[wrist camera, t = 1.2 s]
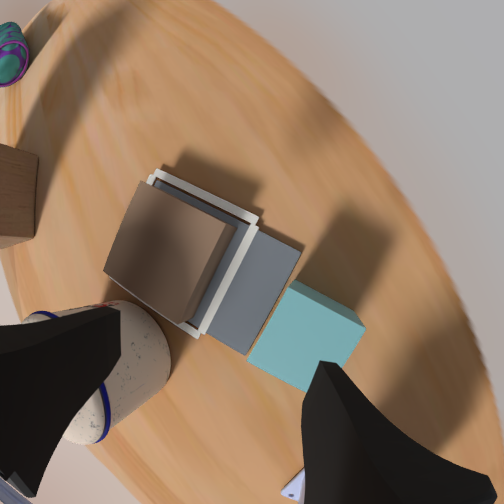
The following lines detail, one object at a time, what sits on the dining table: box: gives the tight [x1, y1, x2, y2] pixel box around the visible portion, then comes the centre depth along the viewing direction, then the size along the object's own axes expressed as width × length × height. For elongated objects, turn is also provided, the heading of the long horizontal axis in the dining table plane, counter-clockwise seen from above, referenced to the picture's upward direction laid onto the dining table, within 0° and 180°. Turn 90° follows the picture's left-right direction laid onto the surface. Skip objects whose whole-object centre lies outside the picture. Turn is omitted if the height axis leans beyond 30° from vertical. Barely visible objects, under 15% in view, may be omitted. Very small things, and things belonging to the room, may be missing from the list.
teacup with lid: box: [21, 300, 171, 445], centre depth 16 cm, size 12×9×12 cm
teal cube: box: [247, 280, 366, 393], centre depth 16 cm, size 4×4×5 cm
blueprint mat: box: [109, 168, 301, 355], centre depth 20 cm, size 13×10×1 cm
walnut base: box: [103, 181, 237, 325], centre depth 19 cm, size 7×7×2 cm
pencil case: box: [0, 22, 30, 87], centre depth 25 cm, size 21×9×10 cm, turn 44°
